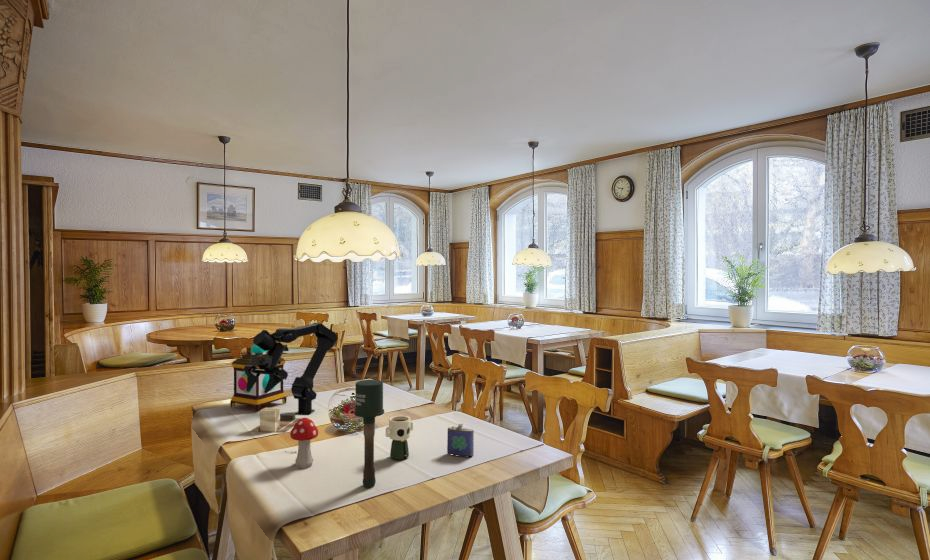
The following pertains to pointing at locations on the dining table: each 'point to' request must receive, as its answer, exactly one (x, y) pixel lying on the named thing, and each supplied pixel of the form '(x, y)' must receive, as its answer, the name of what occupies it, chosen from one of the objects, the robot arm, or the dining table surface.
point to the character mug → (399, 435)
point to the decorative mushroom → (304, 441)
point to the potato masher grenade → (369, 421)
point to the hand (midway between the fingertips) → (256, 392)
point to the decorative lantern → (256, 393)
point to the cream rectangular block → (270, 419)
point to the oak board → (282, 423)
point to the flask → (460, 441)
